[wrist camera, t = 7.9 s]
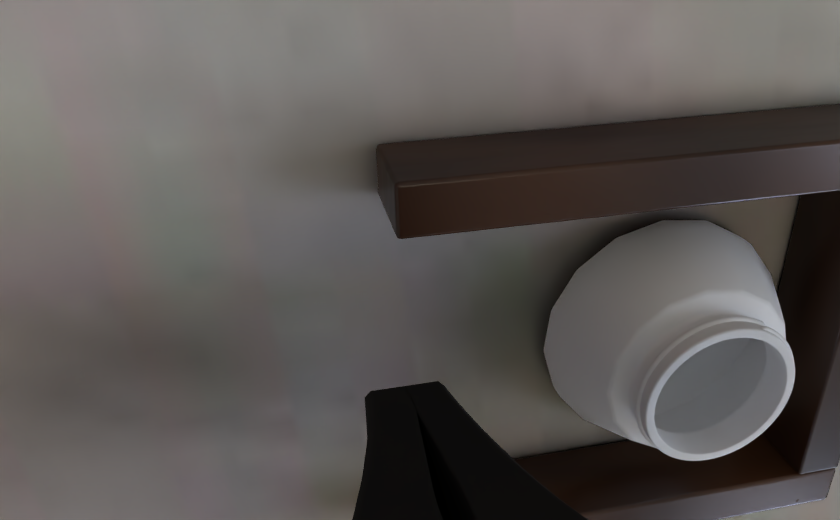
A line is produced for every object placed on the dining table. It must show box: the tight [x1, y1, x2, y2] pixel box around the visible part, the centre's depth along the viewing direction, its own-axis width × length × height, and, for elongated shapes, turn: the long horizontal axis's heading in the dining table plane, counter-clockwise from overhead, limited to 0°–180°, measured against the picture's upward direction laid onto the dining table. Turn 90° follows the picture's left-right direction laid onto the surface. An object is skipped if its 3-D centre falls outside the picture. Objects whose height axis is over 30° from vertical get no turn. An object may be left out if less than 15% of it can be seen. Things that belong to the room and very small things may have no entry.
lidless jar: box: [543, 220, 795, 461], centre depth 15 cm, size 5×3×5 cm
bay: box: [376, 104, 840, 520], centre depth 15 cm, size 10×9×2 cm
